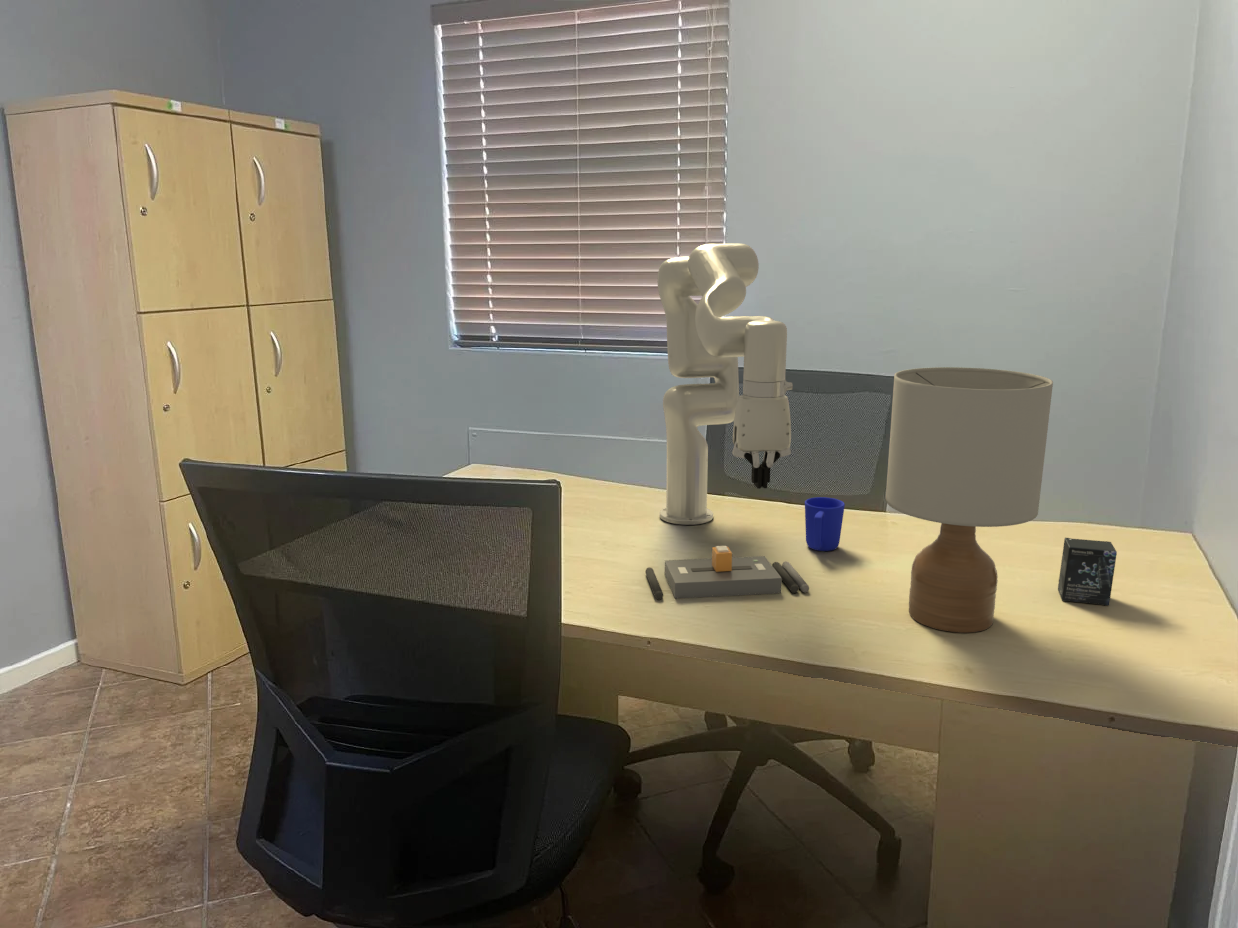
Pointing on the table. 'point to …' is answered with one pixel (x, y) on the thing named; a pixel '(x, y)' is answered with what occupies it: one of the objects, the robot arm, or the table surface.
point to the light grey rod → (795, 576)
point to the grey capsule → (786, 577)
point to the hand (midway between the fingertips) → (760, 486)
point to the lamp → (964, 478)
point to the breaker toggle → (721, 558)
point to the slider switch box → (722, 577)
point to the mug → (823, 522)
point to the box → (1087, 571)
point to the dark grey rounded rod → (654, 583)
